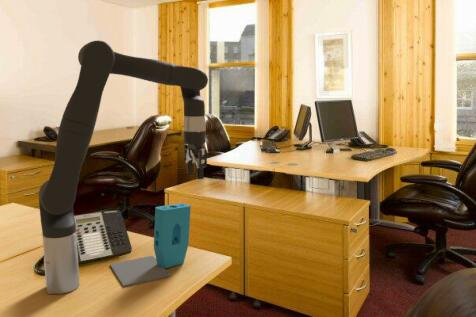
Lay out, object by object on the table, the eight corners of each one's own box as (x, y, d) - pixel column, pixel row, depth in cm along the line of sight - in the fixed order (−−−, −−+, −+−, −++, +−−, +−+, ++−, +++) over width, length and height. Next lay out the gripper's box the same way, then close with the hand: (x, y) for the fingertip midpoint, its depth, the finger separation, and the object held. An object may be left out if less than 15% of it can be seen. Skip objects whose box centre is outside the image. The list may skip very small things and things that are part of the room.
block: (160, 269, 139) (162, 210, 137) (151, 264, 143) (154, 207, 140) (188, 261, 148) (191, 206, 145) (180, 257, 151) (182, 202, 149)
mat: (123, 287, 129) (123, 285, 128) (110, 265, 144) (110, 263, 144) (170, 276, 136) (170, 274, 136) (152, 257, 151) (152, 255, 151)
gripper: (176, 128, 146) (177, 173, 149) (192, 131, 134) (193, 181, 137) (196, 127, 150) (196, 171, 153) (213, 130, 138) (214, 179, 141)
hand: (195, 176), depth 145 cm, fingers open, 8 cm apart
